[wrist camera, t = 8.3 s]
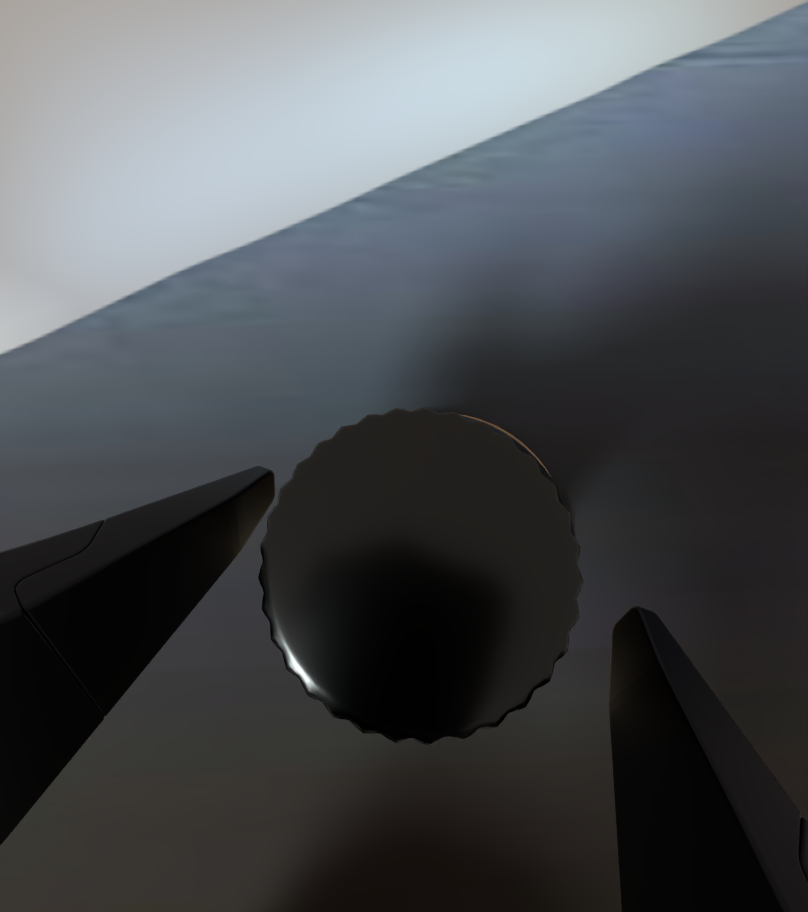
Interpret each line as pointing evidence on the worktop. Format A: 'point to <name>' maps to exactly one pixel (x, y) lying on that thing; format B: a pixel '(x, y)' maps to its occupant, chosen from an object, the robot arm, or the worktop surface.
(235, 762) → the worktop surface
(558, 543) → the supplement bottle
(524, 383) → the worktop surface
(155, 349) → the worktop surface
